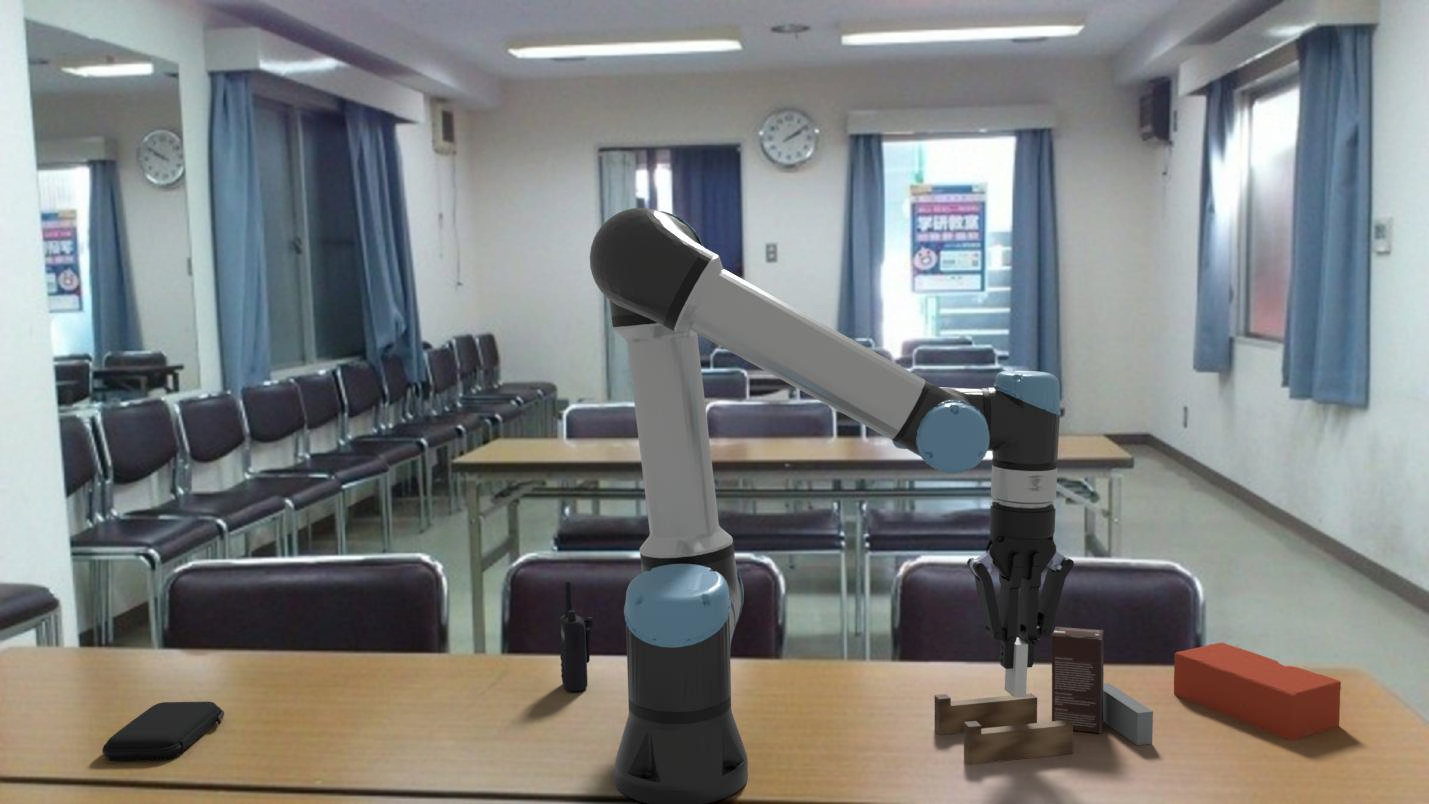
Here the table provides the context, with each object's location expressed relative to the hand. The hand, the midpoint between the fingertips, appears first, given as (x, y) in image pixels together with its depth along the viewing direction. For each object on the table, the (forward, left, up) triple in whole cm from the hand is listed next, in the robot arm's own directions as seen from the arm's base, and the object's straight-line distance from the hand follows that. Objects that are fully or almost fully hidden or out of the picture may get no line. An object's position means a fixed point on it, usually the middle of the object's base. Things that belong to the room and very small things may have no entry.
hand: (1015, 692), depth 143 cm
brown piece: (-2, 0, -6) cm, 6 cm away
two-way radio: (-50, +32, -6) cm, 60 cm away
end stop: (+14, 0, -6) cm, 15 cm away
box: (+9, +2, -6) cm, 11 cm away
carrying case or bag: (-102, +26, -6) cm, 106 cm away
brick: (+34, +2, -6) cm, 34 cm away
